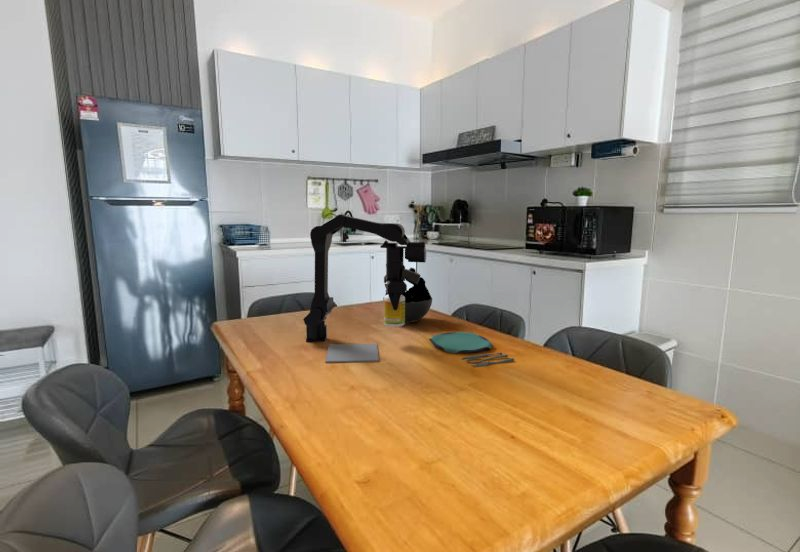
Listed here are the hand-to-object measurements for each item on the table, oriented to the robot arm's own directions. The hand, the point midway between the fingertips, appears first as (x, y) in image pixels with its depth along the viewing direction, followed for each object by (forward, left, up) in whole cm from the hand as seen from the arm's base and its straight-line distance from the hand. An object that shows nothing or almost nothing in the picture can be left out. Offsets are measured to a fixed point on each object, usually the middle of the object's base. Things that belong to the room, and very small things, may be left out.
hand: (394, 307), depth 143 cm
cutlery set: (+24, -8, -13) cm, 28 cm away
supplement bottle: (0, 0, -6) cm, 6 cm away
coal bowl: (+8, +29, -13) cm, 33 cm away
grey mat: (-14, -9, -13) cm, 21 cm away
